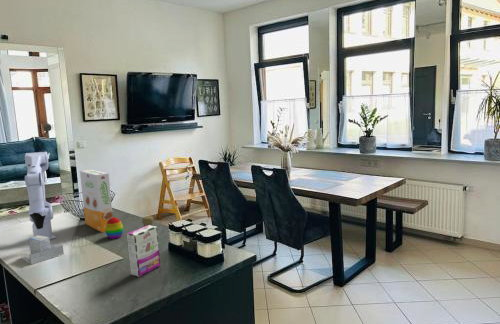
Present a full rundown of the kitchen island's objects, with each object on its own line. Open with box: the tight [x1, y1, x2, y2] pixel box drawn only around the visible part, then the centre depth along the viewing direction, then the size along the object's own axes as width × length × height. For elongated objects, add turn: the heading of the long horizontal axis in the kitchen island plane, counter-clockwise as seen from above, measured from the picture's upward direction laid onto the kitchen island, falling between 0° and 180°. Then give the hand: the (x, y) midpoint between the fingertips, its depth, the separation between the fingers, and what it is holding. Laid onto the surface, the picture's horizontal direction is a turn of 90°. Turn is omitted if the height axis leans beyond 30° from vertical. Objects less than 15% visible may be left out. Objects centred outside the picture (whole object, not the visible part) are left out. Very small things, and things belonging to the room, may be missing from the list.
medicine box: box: [28, 235, 51, 254], centre depth 159 cm, size 8×4×9 cm, turn 62°
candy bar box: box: [126, 225, 161, 278], centre depth 141 cm, size 11×5×16 cm, turn 148°
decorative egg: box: [105, 216, 124, 240], centre depth 181 cm, size 8×8×10 cm
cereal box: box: [79, 169, 113, 233], centre depth 197 cm, size 22×6×30 cm, turn 44°
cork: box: [141, 215, 154, 227], centre depth 176 cm, size 6×6×11 cm
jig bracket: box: [20, 244, 65, 266], centre depth 160 cm, size 12×13×4 cm
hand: (39, 228), depth 169 cm, fingers closed
